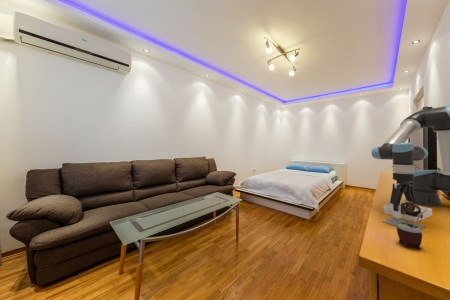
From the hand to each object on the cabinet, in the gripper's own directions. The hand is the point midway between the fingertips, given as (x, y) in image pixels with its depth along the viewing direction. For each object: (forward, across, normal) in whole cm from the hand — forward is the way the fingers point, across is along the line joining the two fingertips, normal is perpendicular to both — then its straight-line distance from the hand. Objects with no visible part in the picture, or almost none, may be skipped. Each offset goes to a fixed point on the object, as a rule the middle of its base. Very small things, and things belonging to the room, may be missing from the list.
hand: (403, 215), depth 88 cm
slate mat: (+5, 0, 0) cm, 5 cm away
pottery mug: (-1, +4, +3) cm, 5 cm away
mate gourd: (+5, +22, +11) cm, 25 cm away
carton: (+5, -19, -6) cm, 20 cm away
